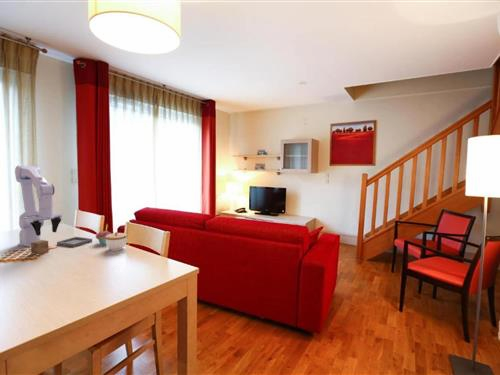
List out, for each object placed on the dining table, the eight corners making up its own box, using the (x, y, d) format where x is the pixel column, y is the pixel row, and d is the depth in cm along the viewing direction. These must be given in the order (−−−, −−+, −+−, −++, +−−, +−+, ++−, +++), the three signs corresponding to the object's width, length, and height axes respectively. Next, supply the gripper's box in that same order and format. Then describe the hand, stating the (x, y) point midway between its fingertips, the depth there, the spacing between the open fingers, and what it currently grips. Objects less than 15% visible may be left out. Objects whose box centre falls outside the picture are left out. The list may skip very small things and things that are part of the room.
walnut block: (31, 254, 135) (30, 242, 135) (41, 251, 140) (40, 239, 140) (38, 255, 134) (38, 243, 133) (48, 252, 139) (48, 240, 138)
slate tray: (57, 244, 151) (56, 241, 151) (76, 239, 162) (76, 236, 162) (73, 247, 147) (73, 244, 147) (92, 241, 159) (91, 238, 159)
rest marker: (40, 248, 143) (40, 248, 143) (51, 245, 149) (51, 245, 149) (48, 250, 142) (48, 249, 142) (59, 246, 148) (59, 246, 148)
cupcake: (115, 241, 160) (115, 222, 159) (106, 245, 152) (106, 225, 151) (102, 240, 161) (101, 221, 160) (92, 245, 153) (92, 224, 152)
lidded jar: (118, 253, 141) (118, 235, 140) (100, 251, 143) (100, 233, 142) (131, 247, 151) (131, 230, 150) (114, 245, 153) (114, 229, 153)
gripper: (34, 210, 129) (35, 237, 130) (65, 206, 143) (65, 231, 144) (26, 209, 132) (26, 236, 133) (56, 205, 145) (57, 230, 146)
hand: (46, 233), depth 139 cm, fingers open, 7 cm apart
